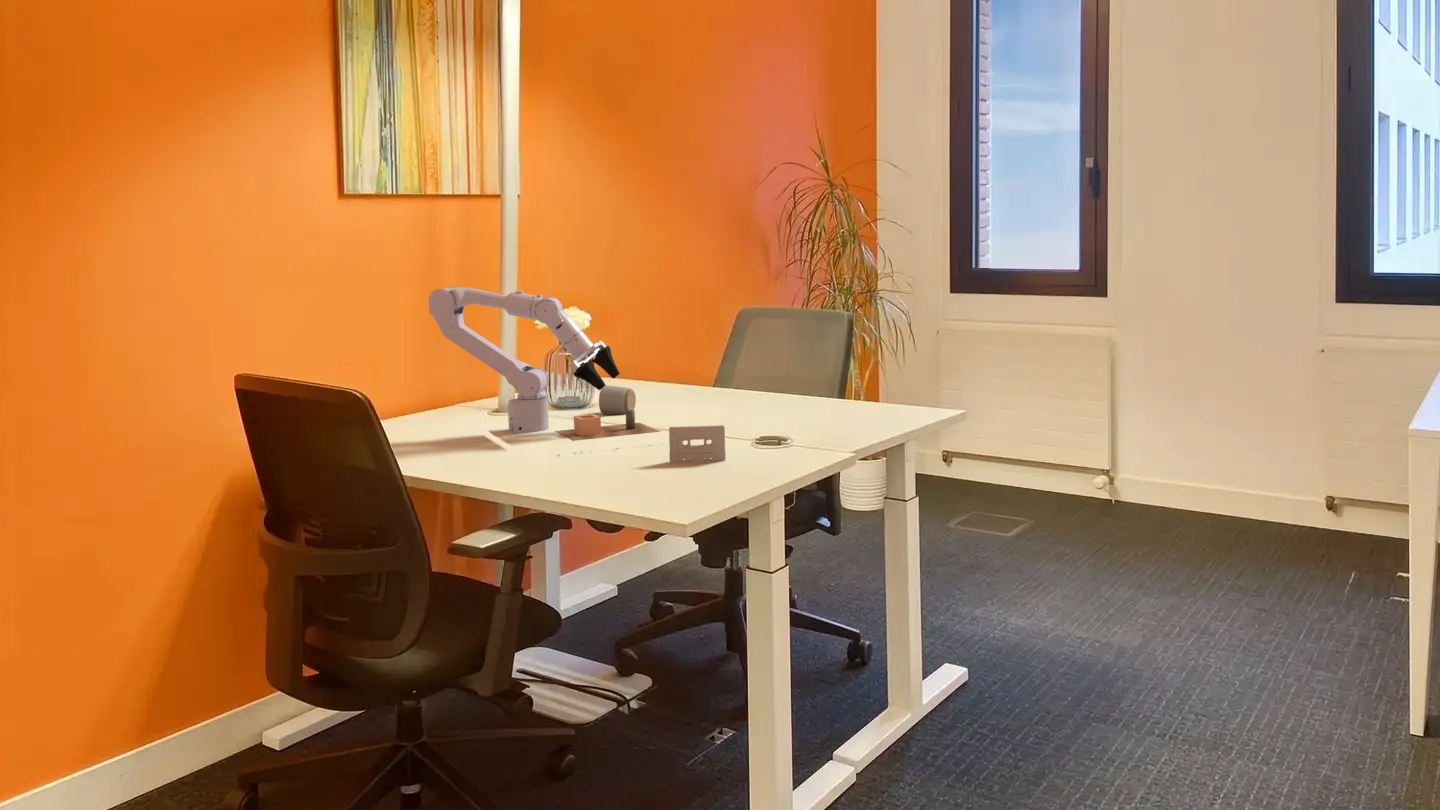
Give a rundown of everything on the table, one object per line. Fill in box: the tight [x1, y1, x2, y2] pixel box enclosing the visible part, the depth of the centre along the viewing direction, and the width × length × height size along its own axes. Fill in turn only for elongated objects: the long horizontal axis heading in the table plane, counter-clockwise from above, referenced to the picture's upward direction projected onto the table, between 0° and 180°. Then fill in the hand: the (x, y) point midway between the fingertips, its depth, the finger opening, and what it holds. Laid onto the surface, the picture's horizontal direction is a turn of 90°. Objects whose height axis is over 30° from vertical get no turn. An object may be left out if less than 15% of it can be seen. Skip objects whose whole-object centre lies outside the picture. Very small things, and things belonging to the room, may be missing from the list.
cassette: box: [668, 424, 726, 463], centre depth 264 cm, size 12×2×8 cm, turn 93°
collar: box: [573, 413, 602, 436], centre depth 294 cm, size 5×5×4 cm
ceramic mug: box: [598, 384, 637, 416], centre depth 327 cm, size 11×8×8 cm
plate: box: [554, 409, 662, 442], centre depth 296 cm, size 22×14×6 cm, turn 115°
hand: (609, 382), depth 298 cm, fingers open, 7 cm apart
